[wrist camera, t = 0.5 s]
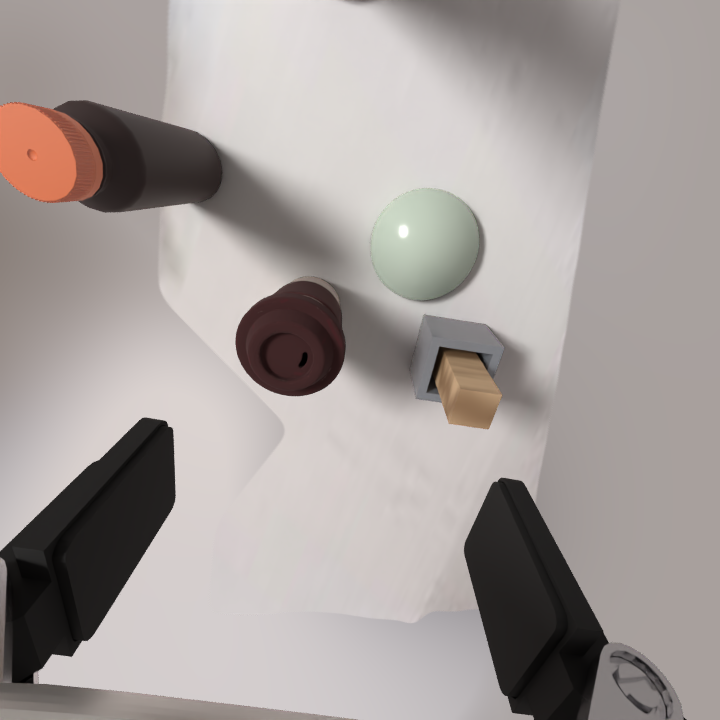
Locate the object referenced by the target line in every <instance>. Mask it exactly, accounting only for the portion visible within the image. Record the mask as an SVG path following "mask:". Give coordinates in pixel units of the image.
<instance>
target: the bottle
mask: <svg viewBox="0 0 720 720" xmlns="http://www.w3.org/2000/svg"><path fill="white" fill-rule="evenodd" d="M3 105H4V106H0V107H1V108H0V172H1V173H2V174H3V176H4V177H5V178H6V180H8V181H9V183H11V184H12V185H13V187H16V189H17V190H20V192H23V193H24V195H28V197H31V198H32V199H33V198H34V199H35V200H39V201H43V202H47V203H49V202H50V203H56V202H70V201H79V202H80V203H82V204H84V205H85V206H87V207H89V208H92V209H95V210H99V211H102V212H125V211H133V210H141V209H148V208H155V207H164V206H172V205H180V204H188V203H195V202H202V201H204V200H207V199H209V198H211V197H212V196H213V195H214V194H215V193H216V192H217V190H218V188H219V185H220V183H221V177H222V168H221V163H220V159H219V157H218V155H217V152H216V150H215V149H214V147H213V146H212V145H211V144H210V142H209V141H208V140H207V139H206V138H204V137H203V136H202V135H200V134H199V133H197V132H195V131H192V130H189V129H186V128H182V127H179V126H175V125H172V124H168V123H165V122H161V121H157V120H154V119H150V118H147V117H143V116H140V115H136V114H133V113H129V112H126V111H122V110H119V109H115V108H112V107H108V106H104V105H101V104H97V103H94V102H90V101H68V102H66V103H64V104H62V105H60V106H58V107H56V108H54V109H48V108H44V107H39V106H35V105H30V104H26V103H20V102H18V103H17V102H14V103H12V102H10V103H7V105H6V104H3Z"/></svg>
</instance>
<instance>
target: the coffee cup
mask: <svg viewBox="0 0 720 720" xmlns="http://www.w3.org/2000/svg"><path fill="white" fill-rule="evenodd" d="M345 347H346V345H345V336H344V333H343V330H342V313H341V309H340V301H339V298H338V295H337V293H336V291H335V290H334V289H333V287H332V286H331V285H330V284H328V283H327V282H326V281H324V280H322V279H320V278H316V277H301V278H298V279H295V280H294V281H292V282H291V283H289V284H287V285H285V286H283V287H282V288H281V289H279V290H278V291H277V292H276V293H274V294H273V295H271V296H268V297H266V298H264V299H262V300H260V301H259V302H257V303H256V304H255V305H254V306H252V307H251V309H250V310H249V311H248V312H247V313H246V314H245V315H244V317H243V318H242V320H241V322H240V324H239V326H238V329H237V333H236V350H237V355H238V358H239V360H240V362H241V365H242V366H243V368H244V370H245V371H246V372H247V374H248V375H249V376H250V377H251V378H252V379H253V380H254V381H255V382H256V383H258V384H259V385H261V386H262V387H264V388H265V389H267V390H269V391H272V392H274V393H278V394H281V395H287V396H304V395H309V394H312V393H315V392H318V391H320V390H322V389H324V388H325V387H327V386H328V385H329V384H330V383H331V382H332V381H333V380H334V379H335V378H336V377H337V375H338V374H339V372H340V370H341V368H342V365H343V362H344V357H345Z"/></svg>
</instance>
